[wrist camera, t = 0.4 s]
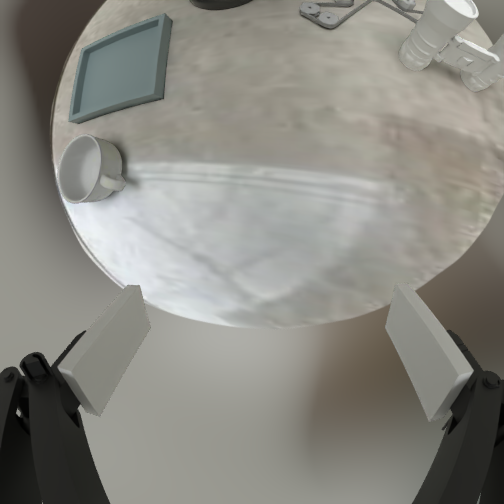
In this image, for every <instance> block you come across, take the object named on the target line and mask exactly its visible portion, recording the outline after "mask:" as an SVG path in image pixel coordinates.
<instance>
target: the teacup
mask: <svg viewBox="0 0 504 504" xmlns="http://www.w3.org/2000/svg"><path fill="white" fill-rule="evenodd" d="M121 172H122V160H121V156H120V153H119V151H118V150H117V148H116V147H115V146H114V145H113V144H111V143H110V142H108V141H105V140H103V139H100V138H96V137H93V136H91V135H89V134H82V135H79V136H77V137H75V138H74V139H73V140H72V141H71V142H70V143H69V144H68V145H67V147H66V148H65V150H64V152H63V154H62V156H61V158H60V162H59V166H58V174H57V178H58V186H59V190H60V192H61V194H62V196H63V197H64V199H65V200H66V201H68V202H70V203H81V202H95V201H100V200H102V199H105V198H106V197H108V196H109V195H110V194H111V193H112V192H113V191H122V190H123V189H124V187H125V183H126V181H125V179H124V178H122V176H121Z"/></svg>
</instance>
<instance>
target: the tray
mask: <svg viewBox="0 0 504 504" xmlns="http://www.w3.org/2000/svg"><path fill="white" fill-rule="evenodd" d="M171 27H172V20H171V19H170V18H169V17H168V16H167V15H166V14H162V15H159V16H156V17H153V18H150V19H147V20H144V21H142V22H139V23H136V24H134V25H131V26H129V27H126V28H124V29H121V30H119V31H117V32H115V33H112V34H110V35H108V36H106V37H104V38H102V39H100V40H98V41H96V42H94V43H92V44H90V45H88V46H86V47H84V48H82V50H81V53H80V57H79V62H78V66H77V71H76V76H75V81H74V86H73V92H72V98H71V105H70V113H69V121H68V122H73V123H78V124H80V123H82V122H85V121H88V120H91V119H93V118H96V117H99V116H102V115H105V114H109V113H112V112H115V111H118V110H122V109H125V108H129V107H132V106H136V105H140V104H144V103H148V102H152V101H157V100H161V99H164V86H165V75H166V65H167V56H168V48H169V41H170V34H171Z"/></svg>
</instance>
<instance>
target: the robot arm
mask: <svg viewBox="0 0 504 504" xmlns="http://www.w3.org/2000/svg"><path fill="white" fill-rule="evenodd" d="M190 1H191V3H192V4H194V5H195V6H197V7H200V8H203V9H210V10H219V9H227V8H232V7H236V6H239V5H242V4H245V3H247V2H249V1H251V0H190ZM150 328H151V326H150V323H149V319H148V316H147V312H146V308H145V304H144V300H143V296H142V292H141V288H140V285H127V286H126V287H125V288H124V290H123V291H122V292H121V293H120V294H119V295H118V296H117V297H116V298H115V299H114V300H113V302H112V303H111V304H110V305H109V306H108V307H107V308H106V309H105V311H104V312H103V313H102V314H101V315H100V316H99V317H98V319H97V320H96V321H95V322H94V323H93V324H92V325H91V327H90V328H89V329H88V330H87V331H83V332H82V333H80V334H79V335H77V336H76V337H75V338H74V340H73V341H72V342H71V344H69V345H68V347H67V348H66V350H64V352H63V353H62V354H61V355H60V356H59V357H58V359H57V360H56V361H55V362H54V364H53V365H52V366H51V367H50V366H49V364H48V362H47V360H46V359H45V357H44V355H43V354H42V353H39V352H34V353H31V354H28V355H27V356H26V357H24V358H23V359H22V361H21V362H20V368H21V370H22V371H23V373H24V374H25V376H22V375H21V374H20V372H19V370H18V369H17V368H16V367H8V368H6V369H4V370H3V371H2V372H1V373H0V504H42V502H43V504H110V502H109V500H108V497H107V495H106V493H105V490H104V488H103V485H102V483H101V480H100V478H99V475H98V472H97V470H96V467H95V464H94V461H93V458H92V455H91V452H90V448H89V445H88V442H87V438H86V435H85V431H84V427H83V423H82V419H81V415H80V412H79V410H78V407H79V405H80V404H81V405H82V407H83V408H84V410H85V411H86V412H87V413H90V414H93V415H96V416H99V417H100V416H101V414H102V412H103V410H104V408H105V406H106V405H107V403H108V401H109V399H110V397H111V395H112V394H113V392H114V390H115V388H116V387H117V385H118V383H119V381H120V379H121V378H122V375H123V374H124V373H125V371H126V369H127V367H128V366H129V364H130V362H131V360H132V359H133V357H134V355H135V353H136V352H137V350H138V348H139V347H140V345H141V343H142V342H143V340H144V338H145V337H146V335H147V333H148V332H149V330H150ZM385 328H386V330H387V332H388V334H389V336H390V338H391V340H392V342H393V344H394V346H395V348H396V350H397V352H398V354H399V356H400V358H401V360H402V362H403V364H404V366H405V368H406V371H407V373H408V375H409V377H410V379H411V381H412V383H413V386H414V388H415V390H416V392H417V395H418V397H419V399H420V401H421V403H422V406H423V409H424V411H425V413H426V416H427V418H428V421H429V422H431V421H434V420H437V419H440V418H443V417H444V416H445V415H446V413H447V412H448V410H449V409H451V411H452V413H453V414H452V416H451V417H450V419H449V420H448V421H447V422H446V424H445V425H444V427H443V428H442V430H444V429H445V428H446V427H447V428H446V431H445V434H444V437H443V439H442V442H441V444H440V447H439V449H438V452H437V454H436V457H435V459H434V461H433V463H432V466H431V468H430V470H429V472H428V474H427V476H426V478H425V480H424V482H423V484H422V486H421V488H420V490H419V492H418V494H417V496H416V498H415V499H414V501H413V503H412V504H477V501H478V498H479V496H480V493H481V496H480V502H479V504H504V380H501V379H500V377H499V376H498V375H497V374H495V373H493V372H491V371H483V370H482V368H481V367H480V365H479V364H478V363H477V361H476V360H475V358H474V357H473V356H472V354H471V353H470V351H468V349H467V347H466V346H465V345H464V343H463V342H462V340H461V339H460V338H459V336H458V335H456V334H455V333H453V332H452V331H451V330H447V331H446V330H445V329H444V328H443V326H442V325H441V324H440V322H439V321H438V320H437V318H436V317H435V316H434V314H433V313H432V312H431V311H430V309H429V308H428V307H427V306H426V304H425V303H424V302H423V301H422V299H420V297H419V296H418V295H417V293H416V292H415V291H414V290H413V289H412V287H411V286H410V285H409V284H408V283H400V284H395V288H394V293H393V297H392V302H391V306H390V310H389V314H388V318H387V322H386V326H385ZM17 409H18V410H19V411H20V412H21V415H20V417H19V416H18V415H17V414H16V411H17Z"/></svg>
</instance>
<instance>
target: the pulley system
mask: <svg viewBox="0 0 504 504" xmlns="http://www.w3.org/2000/svg"><path fill="white" fill-rule="evenodd" d="M335 1H336V3H313V2H307V3H302V5H301V6H300V14H301V15H303V16H305V17H307V18H309V19H311V20H313V21H315V22H317V23H318V24H320V25H321V26H324V27H327V28H334V27H336V26H338V25H339V24H340V23H341V22H343V21H344V20H346V19H347V18H348V17H350V16H351V15H352V14H354V13H355V12H357V11H358V10H360V9H361V8H362V7H364V6H365V5H367V4H368V3H370V2H371V1H376V2H379V3H381V4H383V5H385V6H387V7H389V8H390V9H392V10H394V11H396V12H398V13H399V14H401V15H403V16H405V17H406V18H408V19H410V20H411V21H413V22H414V23H417V21H418V20H416V19H414V18H413V17H411V16H409V15H408V14H406V13H404V12H411V13H419V14H423V11H416V10H413V8H414V7H415V5H416V3H415V0H397V1H396V0H392V1H393V2H394V3H395V4H396V5H397V6H398V8H399V9H401V10H403V11H404V12H402V11H401V10H399V9H397V8H395V7H393V6H391V5H390V4H388V3H386V2H384V1H382V0H368V1H366V2H365V3H363V4H362V5H360V6H359V7H357V8H356V9H354V10H353V11H351V12H350V13H348V14H347V15H346V16H344V17H343V18H341V19H340V20H339V17H338V16H337V15H335V14H333V13H330V12H323V13H321V14H320V13H319V11H320V8H319V6H343V7H349V6H352V5H353V2H354V0H335ZM319 14H320V15H319ZM317 15H319V18H318V19H317V18H315V16H317ZM338 20H339V21H338Z"/></svg>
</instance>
